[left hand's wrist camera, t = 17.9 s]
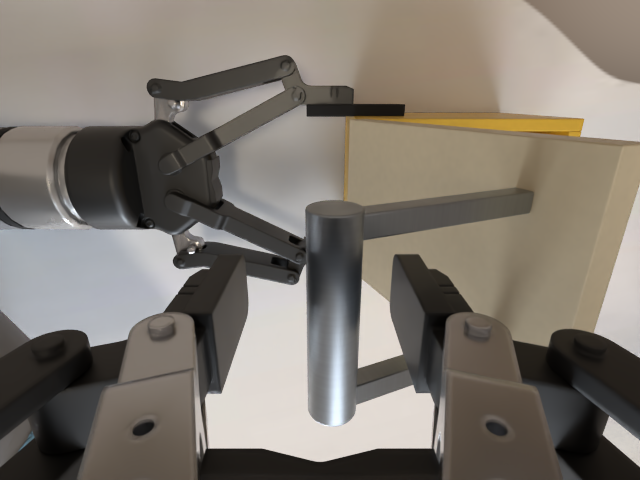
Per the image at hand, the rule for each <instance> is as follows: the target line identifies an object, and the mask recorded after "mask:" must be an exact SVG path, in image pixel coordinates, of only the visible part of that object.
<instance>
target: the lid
mask: <svg viewBox="0 0 640 480" xmlns="http://www.w3.org/2000/svg"><path fill="white" fill-rule="evenodd" d="M639 184H640V142H634V141H623V140H611V139H599V138H587V137H575V136H564V135H552V134H540V133H528V132H516V131H505V130H493V129H481V128H469V127H457V126H445V125H434V124H422V123H410V122H398V121H386V120H375V119H350V131H349V167H348V201H338V200H330V201H320V202H315V203H312V204H310V205H308V206H307V207H306V210H305V211H306V286H307V361H308V410H309V413H310V415H311V416H312V418H313V419H314V420H315V421H317V422H318V423H320V424H322V425H325V426H340V425H343V424H345V423H347V422H348V421H350V420H351V419H352V417H353V416H354V414H355V411H356V405H357V404H360V403H362V402H365V401H368V400H371V399H374V398H377V397H379V396H382V395H385V394H388V393H391V392H394V391H396V390H399V389H402V388H405V387H408V386H411V385H413V382H412V379H411V376H410V373H409V370H408V367H407V364H406V361H405V358H404V355H400V356H397V357H394V358H391V359H387V360H384V361H381V362H378V363H375V364H371V365H368V366H365V367H362V368H359V369H358V349H359V326H360V304H361V282H362V280H364V281H365V282H366V283H367V284H368V285H370V286H371V287H372V288H373V289H375V290H376V291H377V292H378V293H379V294H381V295H382V296H383V297H384V298H385V299H387V300H388V301H389V302H390V291H391V278H392V265H393V257H394V255H395V254H419V255H420V257H421V258H422V260H423V261H424V263H425V265H426V266H427V268H428V269H437V270H438V271H440V272H442V273H443V274H445V275H446V276H448V277H449V279H450V280H451V281H452V283H453V284H454V287H456V288H457V290H458V291H459V294H461V295H462V296H463V298H464V299H465V301H466V302H467V303H468V305H469V306H470V307H471V309H472V310H473V312H474V313H479V314H484V315H487V316H490V317H492V318H494V319H497V320H498V321H500V322H502V323H503V324H504V325H505V326H506V327H507V328H508V329H509V330H510V333H511V336H512V340H515V341H519V342H525V343H530V344H535V345H541V346H546V347H548V346H549V342H550V338H551V335H552V333H554V332H555V331H557V330H561V329H577V330H583V331H587V332H591V333H594V330H595V326H596V323H597V320H598V317H599V313H600V310H601V307H602V304H603V300H604V297H605V294H606V291H607V288H608V284H609V281H610V278H611V275H612V271H613V268H614V265H615V262H616V258H617V255H618V252H619V249H620V245H621V242H622V239H623V236H624V232H625V229H626V226H627V223H628V219H629V216H630V213H631V210H632V207H633V203H634V200H635V197H636V194H637V190H638V187H639Z"/></svg>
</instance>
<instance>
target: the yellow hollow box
mask: <svg viewBox="0 0 640 480" xmlns="http://www.w3.org/2000/svg"><path fill="white" fill-rule="evenodd" d="M350 119H375V120H386V121H398V122H410V123H422V124H434V125H445V126H457V127H469V128H481V129H493V130H505V131H516V132H528V133H540V134H552V135H564V136H575V137H580V135H581V130H582V126H583V122H584V119H580V118H566V117H552V116H538V115H523V114H509V113H404V116H346V129H345V171H344V201H348V167H349V131H350Z"/></svg>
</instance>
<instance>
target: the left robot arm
mask: <svg viewBox="0 0 640 480" xmlns="http://www.w3.org/2000/svg"><path fill="white" fill-rule="evenodd" d="M390 313H391V318H392V321H393V324H394V327H395V330H396V333H397V336H398V339H399V342H400V345H401V349H402V352H403V355H404V358H405V361H406V364H407V367H408V370H409V373H410V376H411V379H412V382H413V385H414V388H415V391H416V393H431V396H432V399H433V401H434V403H435V405H434V412H433V424H432V438H431V449H375V450H371V451H366V452H362V453H358V454H354V455H350V456H346V457H342V458H338V459H334V460H330V461H325V462H315V461H310V460H306V459H302V458H298V457H294V456H290V455H286V454H282V453H278V452H274V451H269V450H265V449H209V438H208V424H207V412H206V405H205V397H206V394H221V393H222V390H223V387H224V384H225V381H226V378H227V375H228V372H229V369H230V366H231V363H232V360H233V357H234V354H235V351H236V348H237V345H238V343H239V340H240V337H241V334H242V331H243V328H244V325H245V322H246V319H247V314H248V290H247V277H246V264H245V257H244V255H243V254H220V255H218V257H217V258H216V260H215V261H214V263H213V265H212V266H211V268H210V269H202V270H200V271H198V272H197V273H195V274H193V275H192V276H190V277H189V279H188V280H187V281H186V283H185V284H184V285H183V287H182V288H181V289H180V291H179V292H178V295H176V296H175V298H174V299H173V300H172V302H171V303H170V304H169V306H168V307H167V308H166V310H165V311H164V312H163V313H161V314H156V315H153V316H150V317H148V318H146V319H143V320H142V321H140V322H138V323H137V324H136V325H135V326H134V327H133V328H132V329H131V330H130V333H129V336H128V339H127V340H124V341H120V342H115V343H110V344H105V345H99V346H94V347H90V344H89V341H88V337H87V335H86V334H85V333H84V332H82V331H78V330H61V331H55V332H51V333H47V334H44V335H41V336H39V337H36V338H34V339H32V340H30V341H28V342H26V343H24V344H23V345H21V346H19V347H18V348H16V349H14V350H13V351H11V352H9V353H8V354H6V355H4V356H3V357H1V358H0V440H1V439H2V438H4V437H5V436H6V435H7V434H9V433H10V432H11V431H12V430H14V429H15V428H16V427H17V426H19V425H20V424H21V423H22V422H24V421H25V420H26V419H27V418H28V421H29V424H30V426H31V429H32V432H33V435H34V437H35V438H34V439H32V440H31V441H30V442H29V443H28V444H27V445H26V446H24V447H23V448H22V449H21V450H20V451H19V452H17V453H16V454H15V455H14V456H13V457H12V458H10V459H9V460H8V461H7V462H6V463H5V464H4V465H2V466H1V467H0V480H640V467H639V466H638V465H636V464H635V463H634V462H633V461H632V460H631V459H630V458H628V457H627V456H626V455H625V454H624V453H623V452H621V451H620V450H619V449H618V448H617V447H616V446H614V445H613V444H612V443H611V442H610V441H609V440H608V439H606V438H605V437H604V436H603V435H602V434H603V431H604V429H605V426H606V423H607V420H608V418H609V416H610V417H611V418H613V419H614V420H615V421H616V422H618V423H619V424H620V425H621V426H623V427H624V428H625V429H626V430H628V431H629V432H630V433H631V434H633V435H634V436H635V437H636V438H638V439H639V440H640V358H639V357H637V356H636V355H634V354H632V353H631V352H629V351H627V350H626V349H624V348H622V347H621V346H619V345H617V344H616V343H614V342H612V341H611V340H609V339H607V338H604V337H602V336H600V335H597V334H594V333H591V332H587V331H583V330H577V329H561V330H557V331H555V332H554V333H552V335H551V338H550V342H549V346H548V347H546V346H541V345H535V344H530V343H525V342H519V341H515V340H512V336H511V333H510V330H509V329H508V328H507V327H506V326H505V325H504V324H503V323H502V322H500V321H498V320H497V319H494V318H492V317H490V316H487V315H484V314H479V313H474V312H473V310H472V309H471V307H470V306H469V305H468V303H467V302H466V301H465V299H464V298H463V296H462V295H461V294H459V291H458V290H457V288H456V287H454V284H453V283H452V281H451V280H450V279H449V277H448V276H446V275H445V274H443V273H442V272H440V271H438V270H437V269H428V268H427V266H426V265H425V263H424V261H423V260H422V258H421V257H420V255H419V254H395V255H394V257H393V265H392V278H391V291H390Z"/></svg>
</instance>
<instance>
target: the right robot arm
mask: <svg viewBox="0 0 640 480" xmlns="http://www.w3.org/2000/svg"><path fill="white" fill-rule="evenodd" d="M279 80H282V82H283V85H284V88H285V91H283V92H282V93H280V94H278V95H276V96H274V97H273V98H271V99H269V100H267V101H265V102H264V103H262V104H260V105H258V106H256V107H255V108H253V109H251V110H249V111H247V112H245V113H244V114H242V115H240V116H238V117H236V118H235V119H233V120H231V121H229V122H227V123H226V124H224V125H222V126H220V127H218V128H217V129H215V130H213V131H211V132H209V133H207V134H205V135H203V136H201V137H199V138H198V137H196V136H195V135H193V134H192V133H191V132H189V131H188V130H186V129H185V128H183V127H182V126H180V125H179V124H177V123H176V122H175V121H174V117H175V115H176V114H177V113H179V112H184V111H186V110H187V109H188V107H189V101H198V100H204V99H209V98H213V97H216V96H220V95H224V94H228V93H232V92H236V91H240V90H244V89H248V88H252V87H256V86H260V85H264V84H268V83H272V82H276V81H279ZM147 91H148V93H149V94H150V95H151V96H152V97H154V108H155V120H154V121H151V122H150V123H148V124H147V125H145V126H89V127H85V128H81V127H78V126H19V127H0V229H91V228H96V229H158V230H161V231H163V232H165V233H167V234H170V235H172V237H173V241H174V244H175V248H176V252H177V255H176V256H175V257H174V259H173V264H174V266H176V267H177V268H179V269H188V268H197V267H207V268H211V266H212V265H213V263H214V261H215V260H216V258H217V257H218V255H220V254H243V255H244V257H245V264H246V276H251V277H255V278H260V279H265V280H270V281H275V282H279V283H284V284H289V285H294V284H296V283H298V281H299V277H300V274H301V272H302V269H303V267H304V265H305V264H306V237H304V239H302V238H300V237H298V236H296V235H294V234H292V233H289V232H287V231H285V230H283V229H281V228H279V227H277V226H275V225H272V224H270V223H268V222H266V221H264V220H262V219H260V218H258V217H255V216H253V215H251V214H249V213H247V212H245V211H243V210H241V209H238V208H236V207H235V206H234V205H233V204H232V203H230V202H229V201H226V200H224V199H222V198H221V197H222V196H223V193H222V186H221V183H220V180H219V177H218V174H219V169H220V161H219V156H217V155H216V153H215V151H216V150H218V149H220V148H222V147H224V146H226V145H227V144H229V143H231V142H233V141H235V140H236V139H238V138H240V137H242V136H244V135H246V134H248V133H249V132H251V131H253V130H255V129H257V128H259V127H260V126H262V125H264V124H266V123H268V122H270V121H271V120H273V119H275V118H277V117H279V116H281V115H283V114H284V113H286V112H288V111H290V110H292V109H294V108H295V107H297V106H299V105H307V116H404V112H405V105H404V104H353V93H354V89H352V88H350V87H347V86H308V85H306V84H305V83H303V81H302V80H301V77H300V74H299V71H298V69H297V66H296V63H295V62H294V60H293V59H292V58H291V57H290V56H287V55H283V56H279V57H275V58H272V59H268V60H264V61H260V62H256V63H252V64H248V65H245V66H241V67H237V68H233V69H229V70H225V71H221V72H218V73H214V74H210V75H206V76H202V77H198V78H194V79H191V80H187V81H183V82H179V81H171V80H164V79H156V78H155V79H151V80H149V82H148V83H147ZM198 222H201V223H203V224H205V225H207V226H209V227H211V228H214V229H218V230H220V229H221V230H225V231H227V232H229V233H231V234H233V235H235V236H238V237H240V238H242V239H244V240H246V241H249V242H251V243H253V244H255V245H257V246H259V247H262V248H264V249H266V250H268V251H270V252H273V253H275V254H277V255H274V254H269V253H265V252H260V251H255V250H251V249H246V248H241V247H237V246H232V245H227V244H223V243H217V242H204V239H203V238H202V237H198V236H193V235H192V234H190V232H189V231H188V229H190V228H191V227H192V226H194V225H195V224H196V223H198ZM28 341H30V339H29V338H28V337H27V336H26V335H25V334H24V333H23V332H22V331H21V330H20V329H19V328H18V327H17V326H16V325H15V324H14V323H13V322H12V321H11V320H10V319H9V318H8V317H7V316H6V315H5V314H4V313H2V312H1V311H0V358H1V357H3V356H4V355H6V354H8V353H9V352H11V351H13V350H14V349H16V348H18V347H19V346H21V345H23V344H24V343H26V342H28ZM34 438H35V437H34V435H33V432H32V429H31V426H30V424H29V421H28V418H27V419H26V420H25V421H24V422H22V423H21V424H20V425H19V426H17V427H16V428H15V429H14V430H12V431H11V432H10V433H9V434H7V435H6V436H5V437H4V438H2V439H1V440H0V467H1V466H2V465H4V464H5V463H6V462H7V461H8V460H9V459H10V458H12V457H13V456H14V455H15V454H16V453H17V452H19V451H20V450H21V449H22V448H23V447H24V446H26V445H27V444H28V443H29V442H30V441H31V440H32V439H34Z"/></svg>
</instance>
